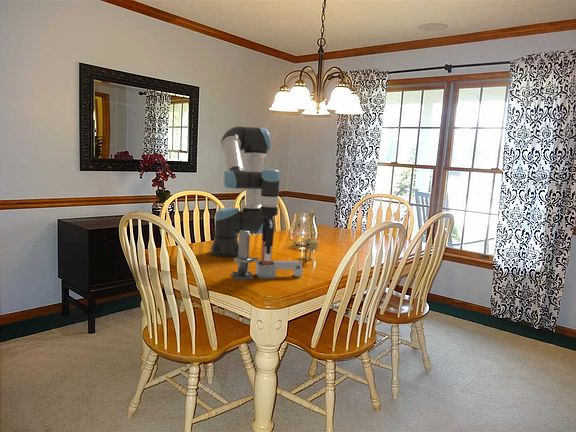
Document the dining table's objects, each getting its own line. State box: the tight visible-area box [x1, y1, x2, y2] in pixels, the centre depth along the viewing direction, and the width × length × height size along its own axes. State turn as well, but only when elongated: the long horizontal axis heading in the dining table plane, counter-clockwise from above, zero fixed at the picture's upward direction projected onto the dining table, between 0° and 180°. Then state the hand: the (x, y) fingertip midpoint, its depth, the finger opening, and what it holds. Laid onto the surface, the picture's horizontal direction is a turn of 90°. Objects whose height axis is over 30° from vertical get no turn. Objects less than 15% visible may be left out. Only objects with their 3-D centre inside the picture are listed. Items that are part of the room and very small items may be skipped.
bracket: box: [255, 260, 303, 280], centre depth 197 cm, size 7×20×6 cm, turn 104°
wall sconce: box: [298, 210, 319, 262], centre depth 226 cm, size 14×10×25 cm
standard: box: [231, 230, 260, 281], centre depth 192 cm, size 8×10×20 cm
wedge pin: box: [260, 241, 273, 265], centre depth 195 cm, size 4×4×10 cm
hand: (266, 259), depth 195 cm, fingers closed on wedge pin, 4 cm apart
